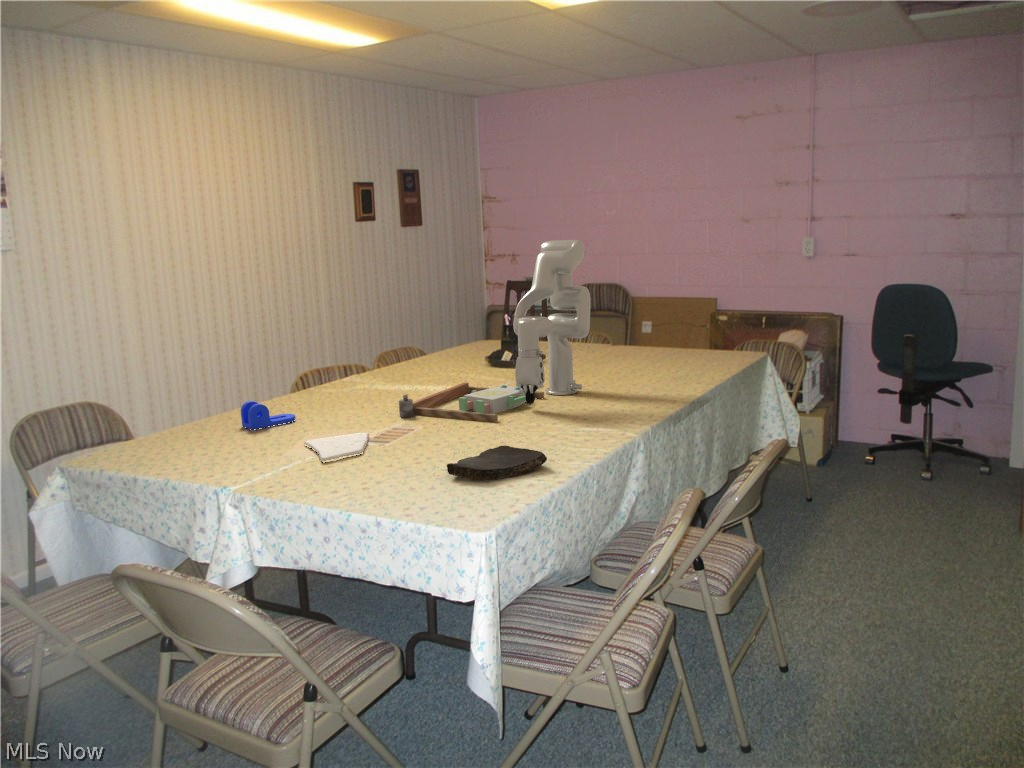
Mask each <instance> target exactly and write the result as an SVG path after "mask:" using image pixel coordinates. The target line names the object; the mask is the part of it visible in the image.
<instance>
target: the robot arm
mask: <svg viewBox="0 0 1024 768" xmlns="http://www.w3.org/2000/svg"><path fill="white" fill-rule="evenodd" d="M585 249H586V248H585V244H584V243H583V242H582V241H581V240H577V239H565V240H563V239H561V240H560V239H559V240H557V239H556V240H555V239H554V240H547V241H544V242H543V243H541V245H540V252H539V254H537V256H536V261H535V265H534V270H533V271H534V272H533V277H532V283H531V287H530V290H528V291H527V292H526V293H525V294H524V295H523V297H521V299H520V300H519V302H518V303H517V305H516V308H515V312H514V317H513V323H512V325H513V331H514V333H515V335H516V336H517V345H518V347H517V348H518V350H517V352H518V357H517V358H516V362H515V370H514V371H515V373H514V374H515V377H514V378H515V387H520V388H522V389H523V390H524V393H525V395H526V403H525V404H527V405H532V404H534V403H535V400H536V399H535V392H536V391H538V389H539V390H540V389H543V388H544V387H545V385H544V383H545V381H546V380H545V379H546V378H545V377H546V376H545V369H544V368H545V367H544V361H543V359H542V355H543V351H542V350H540V338H545V337H547V344H548V345H547V346H548V376H549V377H548V378H549V379H548V381H549V382H548V383H549V387H547V388H546V389H545V393H546V394H548V395H551V394H552V396H567V395H573V394H576V393H577V392H578V390H581V391H582V389H583V384H582V383H577V382H576V380H575V379H574V364H573V363H574V362H573V361H574V359H573V347H572V344H571V341H569V339H583V338H587V337H588V336H589V333H590V329H591V327H590V326H591V301H592V300H591V293H590V291H589V289H588V287H586V286H584V285H573V272H574V271H575V269H576V268H577V267H578V266H579V265H580V264H581V262H582V261H583V259H584V258H585V257H584V256H585V252H586V251H585ZM547 298H549V301H550V307H551V308H552V309H553V310H558V311H576V313H563V312H562V313H560V312H559V313H558V312H557V313H552V314H549V315H548V316H535V315H527V313H528V311H529V309H530V308H531V307H533V306H534V305H535V304H537V303H538V302H541V301H543V300H545V299H547Z"/></svg>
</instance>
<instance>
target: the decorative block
mask: <svg viewBox="0 0 1024 768" xmlns="http://www.w3.org/2000/svg"><path fill="white" fill-rule="evenodd" d="M488 388H489V389H485V390H481V391H478V392H477V391H476V390H473V391H471V393H470V394H468V393H466V394H464V395H463V396H459V397H458V406H459V407H458V411H470V412H479V413H490V414H495V413H496V414H499V413H502V412H505V411H508V410H511V408H512V409H514V407H515V408H518V407H521V406H522V403H523V404H526V403H525V402H526V395H525V393H524V390H523V389H522V388H520V387H517V386H510V385H505V384H502V385H501V386H497V387H488ZM520 405H521V406H520ZM517 406H518V407H517ZM507 409H508V410H507ZM504 410H505V411H504ZM501 411H502V412H501ZM498 412H499V413H498Z"/></svg>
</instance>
